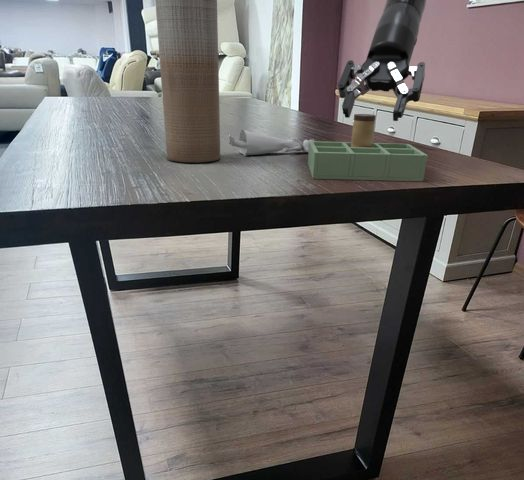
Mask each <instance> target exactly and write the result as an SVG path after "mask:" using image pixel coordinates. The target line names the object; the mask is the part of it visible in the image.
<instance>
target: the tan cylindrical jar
mask: <svg viewBox="0 0 524 480" xmlns="http://www.w3.org/2000/svg"><path fill="white" fill-rule="evenodd" d="M376 117H377V115H376V114H370V113H354V114H353V122H352V131H351V141H350V142H351V147H366V148H372V143H374V133H375V126H376Z"/></svg>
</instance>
